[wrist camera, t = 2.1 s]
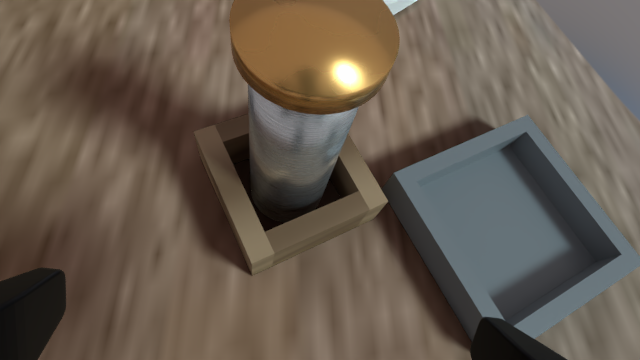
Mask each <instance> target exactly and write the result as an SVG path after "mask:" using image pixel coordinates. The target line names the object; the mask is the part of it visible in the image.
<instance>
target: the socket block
mask: <svg viewBox="0 0 640 360" xmlns="http://www.w3.org/2000/svg"><path fill="white" fill-rule="evenodd" d="M193 132H194V136H195V139H196V143H197V147H198V151H199V154H200V158H201V160H202V162H203V165H204V167H205V169H206V171H207V174H208V176H209V178H210V181H211V183H212V185H213V187H214V190H215V192H216V194H217V197H218V199H219V201H220V204H221V206H222V208H223V210H224V213H225V215H226V217H227V220H228V222H229V224H230V226H231V229H232V231H233V233H234V236H235V238H236V240H237V242H238V245H239V247H240V249H241V252H242V254H243V256H244V258H245V261H246V263H247V265H248V268H249V270H250V272H251V274H252V276H253V275H255V274H257V273H259V272H261V271H263V270H266V269H268V268H270V267H272V266H274V265H276V264H278V263H281V262H283V261H285V260H287V259H289V258H291V257H293V256H296V255H298V254H300V253H302V252H304V251H306V250H308V249H310V248H313V247H315V246H317V245H319V244H321V243H323V242H325V241H328V240H330V239H332V238H334V237H336V236H338V235H340V234H343V233H345V232H347V231H349V230H351V229H353V228H355V227H357V226H360V225H362V224H364V223H366V222H368V221H370V220H372V219H374V218H375V216H376V215H377V214H378V213H379V212H380V211H381V209H382V208H383V207H384V206H385V205H386V203H387V202H388V200H387V198H386V197H385V195H384V193H383V191H382V190H381V188H380V186H379V185H378V183H377V181H376V180H375V178H374V176H373V175H372V173H371V171H370V170H369V168H368V166H367V165H366V163H365V161H364V160H363V158H362V156H361V155H360V153H359V151H358V149H357V148H356V146H355V144H354V143H353V141H352V139H351V138H350V136H349V134H347V137H346V139H345V142H344V144H343V146H342V149H341V151H340V154H339V156H338V159H337V161H336V164H335V166H334V168H333V171H332V173H331V176H330V179H331V181H332V183H333V185H334V187H335V188H336V190H337V192H338V194H339V196H340V197H341V199H339V200H337V201H335V202H332V203H330V204H328V205H325V206H323V207H321V208H319V209H316V210H314V211H312V212H309V213H307V214H305V215H302V216H300V217H298V218H295V219H293V220H291V221H289V222H286V223H284V224H282V225H279V226H277V227H275V228H272V229H270V230H268V231H266V232H264V230H263V227H262V225H261V223H260V221H259V219H258V217H257V215H256V212H255V210H254V208H253V206H252V204H251V202H250V200H249V197H248V195H247V193H246V191H245V189H244V187H243V185H242V182H241V180H240V178H239V176H238V174H237V172H236V169H235V167H234V165H233V164H235V163H237V162H240V161H243V160H246V159H248V158H250V148H249V114H246V115H243V116H240V117H236V118H233V119H230V120H227V121H224V122H221V123H218V124H215V125H212V126H209V127H206V128H203V129H200V130H197V131H193Z"/></svg>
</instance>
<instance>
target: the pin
mask: <svg viewBox="0 0 640 360" xmlns="http://www.w3.org/2000/svg"><path fill="white" fill-rule="evenodd" d="M229 21H230V34H231V47H232V55H233V59H234V62H235V64H236V67H237V69H238V71H239V72H240V74H241V76H242V77H243V79H244V80H245V81H246V82H247V83H248V109H249V148H250V186H251V196H252V199H253V202H254V203H255V205H256V207H257V208H258V209H259V210H260V211H261V212H262V213H263V214H264V215H265V216H267V217H269V218H271V219H273V220H276V221H279V222H289V221H291V220H293V219H295V218H298V217H300V216H302V215H305V214H307V213H309V212H312V211H314V210H315V209H316V208H317V206H318V205H319V202H320V200H321V198H322V195H323V193H324V190H325V188H326V186H327V183H328V181H329V178H330V176H331V173H332V171H333V168H334V166H335V164H336V161H337V159H338V156H339V154H340V151H341V149H342V146H343V144H344V142H345V139H346V137H347V134H348V132H349V129H350V127H351V125H352V122H353V120H354V117H355V115H356V112H357V110H358V107H359V106H361V105H362V104H364V103H366V102H367V101H369V100H370V99H371V98H372V97H374V96H375V95H376V94H377V92H378V91H379V90H380V89H381V87H382V86H383V84H384V83H385V81H386V79H387V76H388V74H389V72H390V70H391V68H392V66H393V64H394V61H395V59H396V57H397V54H398V49H399V30H398V27H397V23H396V20H395V18H394V16H393V14H392V12H391V11H390V9H389V8H388V6H387V5H386V4H385V3H384V1H383V0H234V2H233V4H232V8H231V11H230V20H229Z"/></svg>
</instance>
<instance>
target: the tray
mask: <svg viewBox="0 0 640 360" xmlns="http://www.w3.org/2000/svg"><path fill="white" fill-rule="evenodd" d="M381 190H382V191H383V193H384V195H385V197H386V198H387V200H388V202H389V204H390V205H391V207H392V209H393V210H394V212H395V214H396V215H397V217H398V219H399V220H400V222H401V224H402V225H403V227H404V229H405V230H406V232H407V234H408V235H409V237H410V239H411V241H412V242H413V244H414V246H415V247H416V249H417V251H418V252H419V254H420V256H421V257H422V259H423V261H424V262H425V264H426V266H427V267H428V269H429V271H430V272H431V274H432V276H433V277H434V279H435V281H436V283H437V284H438V286H439V288H440V289H441V291H442V293H443V294H444V296H445V298H446V299H447V301H448V303H449V304H450V306H451V308H452V309H453V311H454V313H455V314H456V316H457V318H458V320H459V321H460V323H461V325H462V326H463V328H464V330H465V331H466V333H467V335H468V336H469V338H470V340H471V341H473V338H474V335H475V332H476V329H477V327H478V324H479V321H480V320H481V318H483V317H494V318H501V319H503V320H505V321H506V322H508V323H509V324H511V325H513V326H514V327H516V328H517V329H519V330H521V331H522V332H524V333H525V334H527V335H529V336H530V337H532V338H533V339H535V338H536V337H538V336H539V335H541V334H542V333H543V332H545V331H546V330H548V329H549V328H551V327H552V326H554V325H555V324H556V323H558V322H559V321H561V320H562V319H564V318H565V317H567V316H568V315H569V314H571V313H572V312H574V311H575V310H577V309H578V308H580V307H581V306H582V305H584V304H585V303H587V302H588V301H590V300H591V299H592V298H594V297H595V296H597V295H598V294H600V293H601V292H603V291H604V290H605V289H607V288H608V287H610V286H611V285H613V284H614V283H616V282H617V281H618V280H620V279H621V278H623V277H624V276H626V275H627V274H629V273H630V272H631V271H633V270H634V269H636V268H637V267H639V266H640V256H639V255H638V254H637V253H636V251H635V250H634V249H633V247H632V246H631V245H630V244H629V242H628V241H627V240H626V239H625V237H624V236H623V235H622V234H621V232H620V231H619V230H618V229H617V227H616V226H615V225H614V223H613V222H612V221H611V220H610V218H609V217H608V216H607V215H606V213H605V212H604V211H603V210H602V208H601V207H600V206H599V204H598V203H597V202H596V201H595V199H594V198H593V197H592V196H591V194H590V193H589V192H588V191H587V189H586V188H585V187H584V185H583V184H582V183H581V182H580V180H579V179H578V178H577V177H576V175H575V174H574V173H573V172H572V170H571V169H570V168H569V167H568V165H567V164H566V163H565V161H564V160H563V159H562V158H561V156H560V155H559V154H558V153H557V151H556V150H555V149H554V148H553V146H552V145H551V144H550V142H549V141H548V140H547V139H546V137H545V136H544V135H543V134H542V132H541V131H540V130H539V129H538V127H537V126H536V125H535V123H534V122H533V121H532V120H531V118H530V117H529V116H528V115H527V116H524V117H522V118H520V119H517V120H515V121H513V122H510V123H508V124H506V125H503V126H501V127H499V128H496V129H494V130H492V131H489V132H487V133H485V134H483V135H480V136H478V137H476V138H473V139H471V140H469V141H466V142H464V143H462V144H459V145H457V146H455V147H452V148H450V149H448V150H445V151H443V152H441V153H438V154H436V155H434V156H432V157H429V158H427V159H425V160H422V161H420V162H418V163H415V164H413V165H411V166H408V167H406V168H404V169H401V170H399V171H397V172H394V173H393V175H392V176H391V177H390V179H389V180H388V181H387V183H386V184H385V185H384V187H383V188H382V189H381Z"/></svg>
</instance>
